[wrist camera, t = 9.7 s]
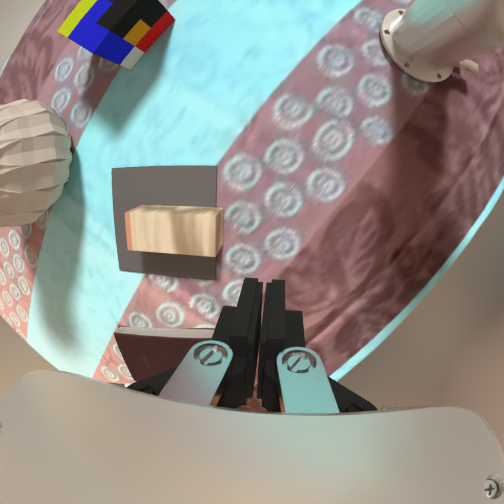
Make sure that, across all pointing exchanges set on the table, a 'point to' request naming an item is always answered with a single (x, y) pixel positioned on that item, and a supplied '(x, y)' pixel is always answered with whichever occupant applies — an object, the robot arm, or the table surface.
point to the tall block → (175, 229)
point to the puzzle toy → (117, 28)
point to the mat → (163, 194)
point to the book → (157, 347)
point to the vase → (31, 160)
